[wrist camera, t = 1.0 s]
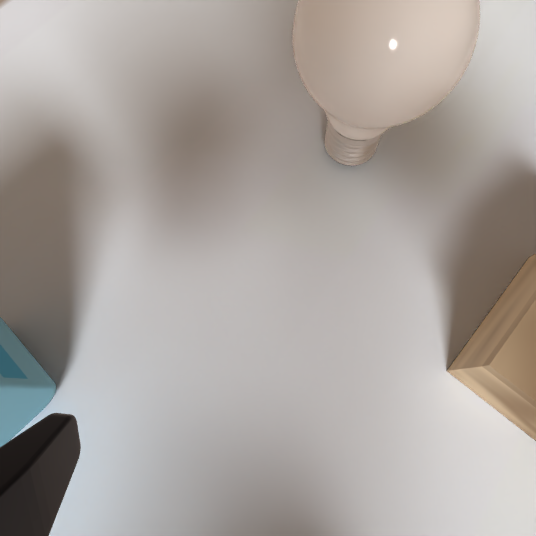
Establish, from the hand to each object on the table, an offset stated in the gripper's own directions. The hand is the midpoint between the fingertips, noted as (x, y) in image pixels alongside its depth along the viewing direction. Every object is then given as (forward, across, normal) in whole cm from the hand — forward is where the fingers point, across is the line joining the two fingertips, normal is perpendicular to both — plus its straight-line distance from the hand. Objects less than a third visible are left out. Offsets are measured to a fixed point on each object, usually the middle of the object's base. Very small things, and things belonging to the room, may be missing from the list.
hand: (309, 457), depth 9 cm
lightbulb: (+18, -2, -2) cm, 19 cm away
